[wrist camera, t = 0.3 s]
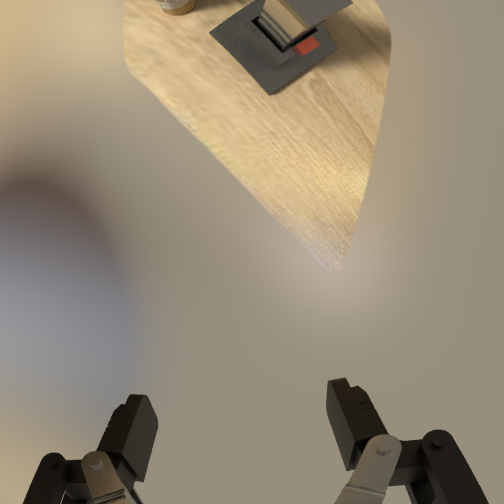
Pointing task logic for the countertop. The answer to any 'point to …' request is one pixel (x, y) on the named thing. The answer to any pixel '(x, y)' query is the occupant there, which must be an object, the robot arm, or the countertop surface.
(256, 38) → the stand base
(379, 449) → the robot arm
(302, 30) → the column
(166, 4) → the sprinkles bottle
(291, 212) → the countertop surface
